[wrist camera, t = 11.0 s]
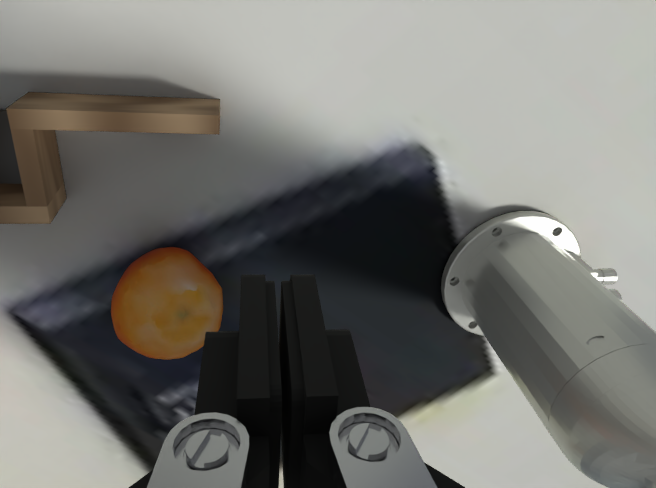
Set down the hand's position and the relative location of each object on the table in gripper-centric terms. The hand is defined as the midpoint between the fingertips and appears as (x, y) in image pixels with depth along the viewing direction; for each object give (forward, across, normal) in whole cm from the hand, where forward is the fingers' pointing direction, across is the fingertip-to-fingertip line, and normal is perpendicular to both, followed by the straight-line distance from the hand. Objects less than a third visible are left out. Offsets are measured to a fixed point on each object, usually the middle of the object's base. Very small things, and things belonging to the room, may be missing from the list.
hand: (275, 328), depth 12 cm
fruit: (+28, +7, +15) cm, 32 cm away
